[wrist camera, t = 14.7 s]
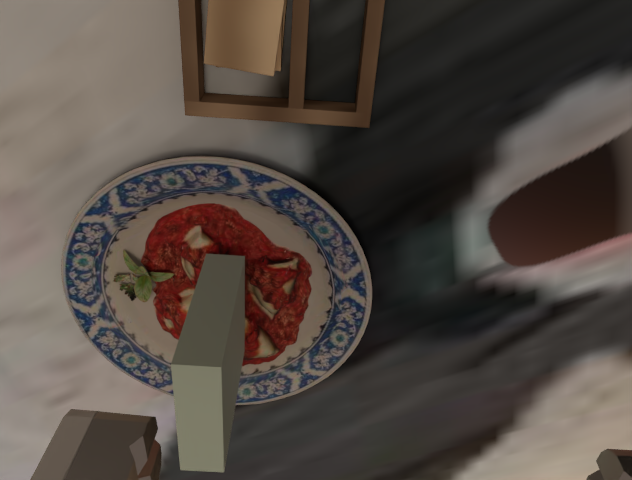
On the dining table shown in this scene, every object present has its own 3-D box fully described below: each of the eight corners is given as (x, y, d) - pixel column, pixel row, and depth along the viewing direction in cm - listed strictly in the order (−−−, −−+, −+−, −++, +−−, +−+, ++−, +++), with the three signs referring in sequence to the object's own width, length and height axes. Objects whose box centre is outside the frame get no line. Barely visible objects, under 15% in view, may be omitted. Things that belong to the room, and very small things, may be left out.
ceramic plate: (429, 233, 46) (435, 253, 43) (288, 420, 58) (286, 444, 55) (125, 84, 40) (111, 97, 37) (39, 328, 52) (24, 351, 49)
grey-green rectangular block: (245, 256, 44) (221, 367, 33) (244, 351, 49) (224, 472, 39) (206, 253, 43) (170, 364, 33) (210, 349, 49) (180, 470, 39)
